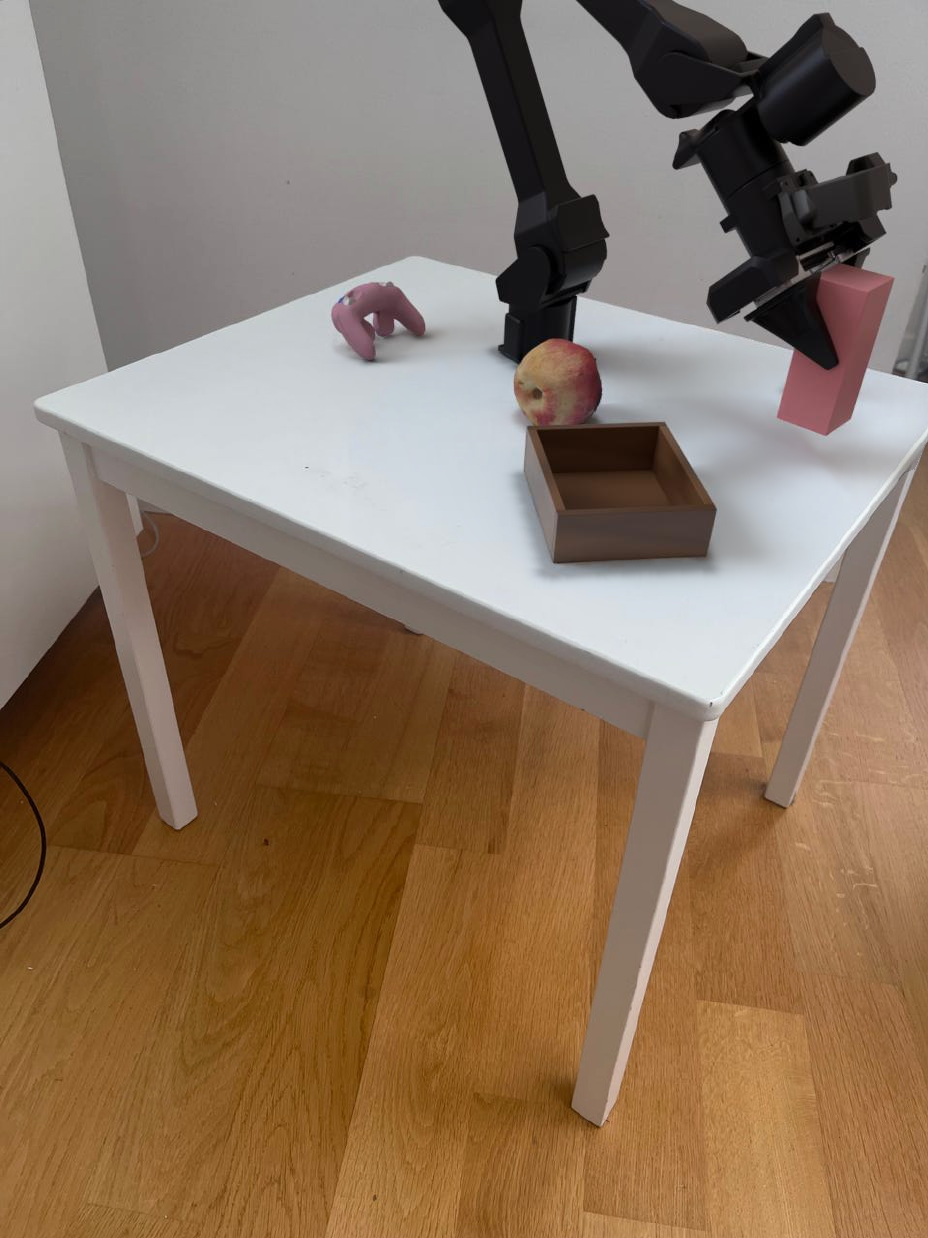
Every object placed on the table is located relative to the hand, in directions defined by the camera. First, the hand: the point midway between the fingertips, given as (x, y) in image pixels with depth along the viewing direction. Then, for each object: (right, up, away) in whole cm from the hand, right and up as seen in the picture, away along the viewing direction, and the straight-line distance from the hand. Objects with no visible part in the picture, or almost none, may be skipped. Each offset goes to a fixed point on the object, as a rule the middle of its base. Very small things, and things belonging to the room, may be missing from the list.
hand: (847, 358), depth 76 cm
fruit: (-23, -4, +10) cm, 25 cm away
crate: (-20, -13, -2) cm, 24 cm away
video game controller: (-40, +8, +24) cm, 47 cm away
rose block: (-1, -4, +4) cm, 6 cm away
